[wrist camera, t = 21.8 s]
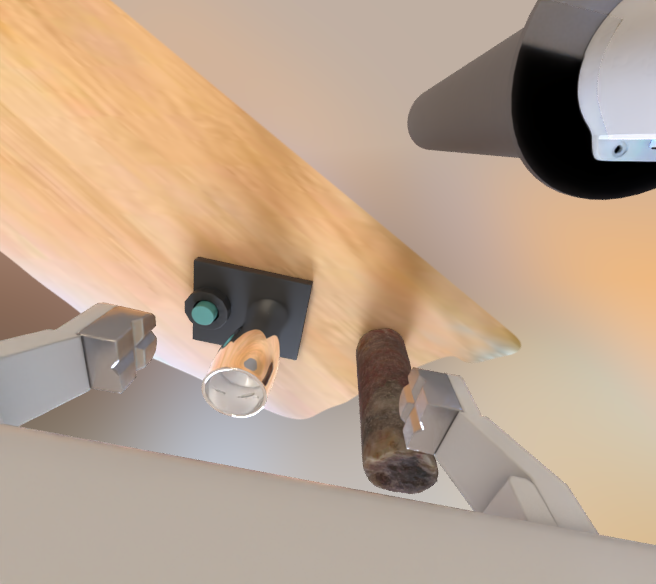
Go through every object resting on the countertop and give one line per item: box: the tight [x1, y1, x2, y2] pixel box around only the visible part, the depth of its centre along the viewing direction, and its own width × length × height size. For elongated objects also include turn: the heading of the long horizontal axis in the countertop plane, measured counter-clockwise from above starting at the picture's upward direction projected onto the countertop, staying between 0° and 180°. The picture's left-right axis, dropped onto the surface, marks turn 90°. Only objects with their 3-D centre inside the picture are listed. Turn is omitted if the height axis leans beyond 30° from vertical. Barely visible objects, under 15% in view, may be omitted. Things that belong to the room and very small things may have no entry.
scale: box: [185, 257, 313, 360], centre depth 44 cm, size 16×13×3 cm
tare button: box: [192, 301, 218, 325], centre depth 42 cm, size 3×3×2 cm
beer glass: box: [202, 298, 289, 417], centre depth 37 cm, size 7×7×15 cm
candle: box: [356, 329, 438, 494], centre depth 38 cm, size 8×7×20 cm
